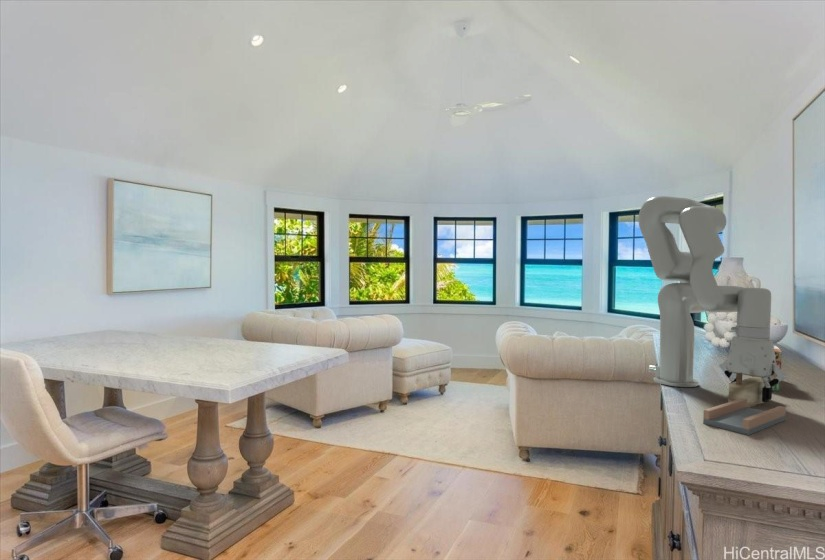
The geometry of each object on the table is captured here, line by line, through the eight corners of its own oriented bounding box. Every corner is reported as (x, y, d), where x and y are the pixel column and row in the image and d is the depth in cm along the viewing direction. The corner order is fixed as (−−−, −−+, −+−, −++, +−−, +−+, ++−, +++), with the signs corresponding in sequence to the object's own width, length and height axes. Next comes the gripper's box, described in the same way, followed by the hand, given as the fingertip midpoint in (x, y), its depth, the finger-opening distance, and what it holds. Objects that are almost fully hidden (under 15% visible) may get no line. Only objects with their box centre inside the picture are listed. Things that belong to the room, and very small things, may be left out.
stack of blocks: (749, 376, 170) (750, 340, 170) (771, 378, 167) (773, 342, 167) (755, 388, 152) (756, 348, 151) (780, 391, 149) (782, 350, 148)
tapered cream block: (728, 405, 133) (729, 372, 132) (755, 397, 141) (756, 366, 141) (744, 409, 129) (746, 374, 129) (771, 400, 138) (772, 368, 138)
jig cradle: (703, 423, 116) (703, 409, 116) (741, 410, 127) (742, 398, 127) (748, 435, 108) (749, 420, 108) (785, 420, 119) (785, 407, 119)
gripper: (712, 330, 140) (710, 393, 140) (785, 338, 126) (782, 408, 126) (724, 328, 144) (722, 390, 145) (796, 336, 130) (794, 404, 130)
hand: (750, 398), depth 135 cm, fingers open, 6 cm apart
